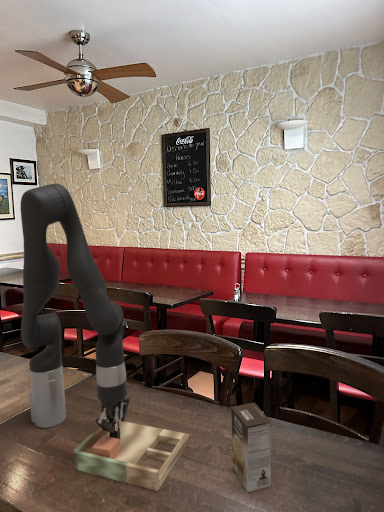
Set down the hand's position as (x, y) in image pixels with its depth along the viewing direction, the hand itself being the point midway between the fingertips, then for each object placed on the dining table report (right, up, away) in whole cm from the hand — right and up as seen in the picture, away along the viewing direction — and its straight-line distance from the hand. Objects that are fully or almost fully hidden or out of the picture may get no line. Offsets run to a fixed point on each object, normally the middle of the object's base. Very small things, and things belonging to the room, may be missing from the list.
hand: (115, 441), depth 102 cm
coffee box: (+34, -4, -10) cm, 36 cm away
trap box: (+5, -3, -1) cm, 6 cm away
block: (-1, -2, -4) cm, 5 cm away
